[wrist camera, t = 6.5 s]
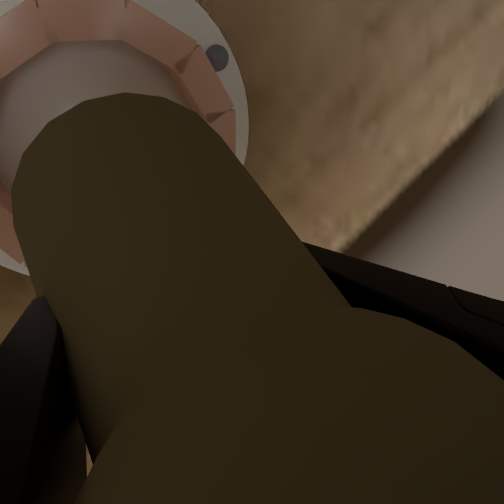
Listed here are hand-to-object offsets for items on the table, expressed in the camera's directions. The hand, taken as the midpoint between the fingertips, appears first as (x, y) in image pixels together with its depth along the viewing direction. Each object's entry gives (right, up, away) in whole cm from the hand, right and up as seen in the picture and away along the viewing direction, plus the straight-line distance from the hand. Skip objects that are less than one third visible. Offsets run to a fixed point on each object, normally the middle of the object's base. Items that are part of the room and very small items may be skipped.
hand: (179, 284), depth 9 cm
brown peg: (-2, +2, +3) cm, 4 cm away
